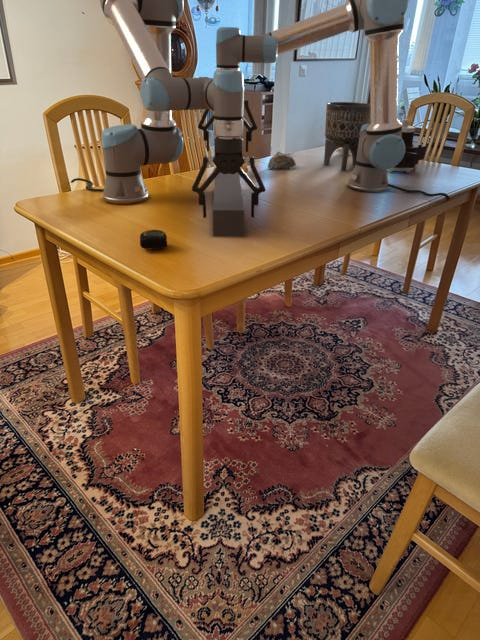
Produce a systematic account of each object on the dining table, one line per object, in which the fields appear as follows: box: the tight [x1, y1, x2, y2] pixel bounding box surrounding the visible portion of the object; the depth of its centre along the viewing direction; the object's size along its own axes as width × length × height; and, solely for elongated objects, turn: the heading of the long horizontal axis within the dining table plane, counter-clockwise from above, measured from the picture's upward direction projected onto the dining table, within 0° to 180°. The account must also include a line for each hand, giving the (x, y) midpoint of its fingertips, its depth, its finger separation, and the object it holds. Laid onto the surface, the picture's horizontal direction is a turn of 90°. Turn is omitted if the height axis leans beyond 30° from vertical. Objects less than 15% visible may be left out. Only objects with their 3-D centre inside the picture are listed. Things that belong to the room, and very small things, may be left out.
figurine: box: [335, 147, 352, 156], centre depth 235 cm, size 8×15×13 cm, turn 145°
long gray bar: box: [212, 172, 245, 237], centre depth 147 cm, size 52×9×7 cm, turn 2°
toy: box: [241, 162, 249, 174], centre depth 192 cm, size 11×6×15 cm
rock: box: [267, 151, 297, 171], centre depth 203 cm, size 13×9×6 cm, turn 131°
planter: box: [323, 101, 371, 172], centre depth 204 cm, size 20×20×26 cm
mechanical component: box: [387, 119, 428, 174], centre depth 205 cm, size 22×21×30 cm
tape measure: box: [139, 229, 168, 250], centre depth 117 cm, size 7×7×4 cm
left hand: (228, 216), depth 129 cm, fingers open, 13 cm apart
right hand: (227, 151), depth 159 cm, fingers open, 13 cm apart
